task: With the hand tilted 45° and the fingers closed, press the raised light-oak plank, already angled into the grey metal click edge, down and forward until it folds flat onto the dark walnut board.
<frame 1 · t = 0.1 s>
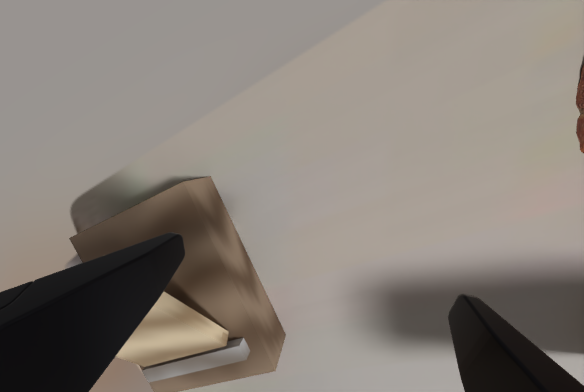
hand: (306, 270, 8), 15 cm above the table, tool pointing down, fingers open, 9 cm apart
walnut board: (195, 277, 27), on the table
oak plank: (129, 323, 19), point 9 cm above the table, hinge at 30.0°
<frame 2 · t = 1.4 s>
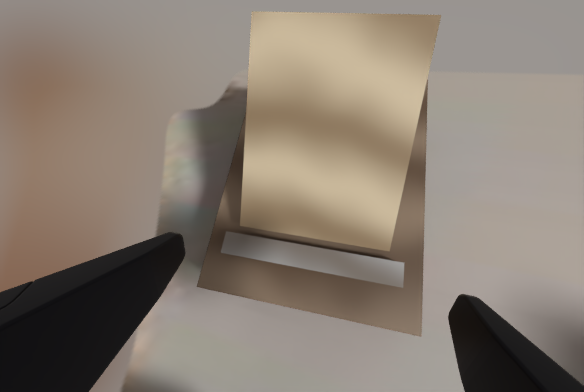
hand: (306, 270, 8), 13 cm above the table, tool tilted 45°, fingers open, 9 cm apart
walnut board: (321, 192, 22), on the table
oak plank: (324, 137, 15), point 9 cm above the table, hinge at 30.0°
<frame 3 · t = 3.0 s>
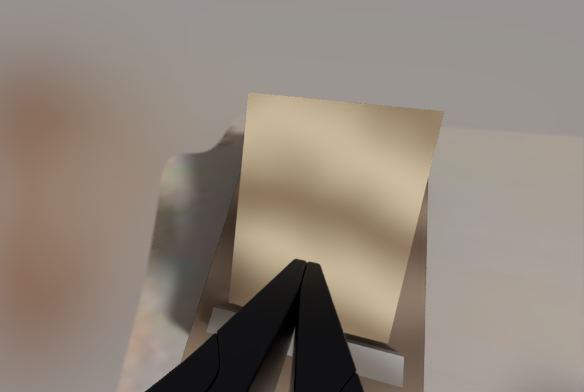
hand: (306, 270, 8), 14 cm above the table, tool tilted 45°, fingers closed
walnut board: (317, 251, 22), on the table
oak plank: (320, 218, 14), point 9 cm above the table, hinge at 30.0°
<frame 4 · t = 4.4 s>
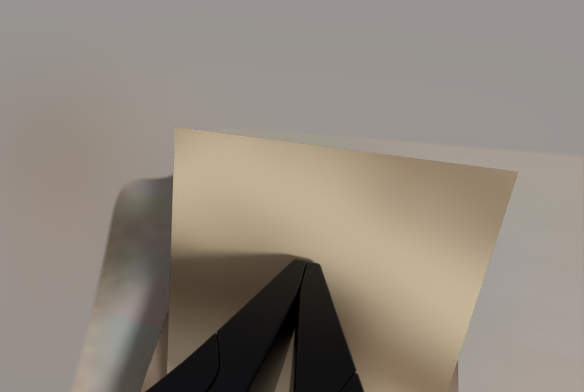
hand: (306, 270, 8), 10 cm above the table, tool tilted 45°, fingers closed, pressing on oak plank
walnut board: (305, 315, 16), on the table
oak plank: (299, 323, 9), point 9 cm above the table, hinge at 29.9°, touching gripper
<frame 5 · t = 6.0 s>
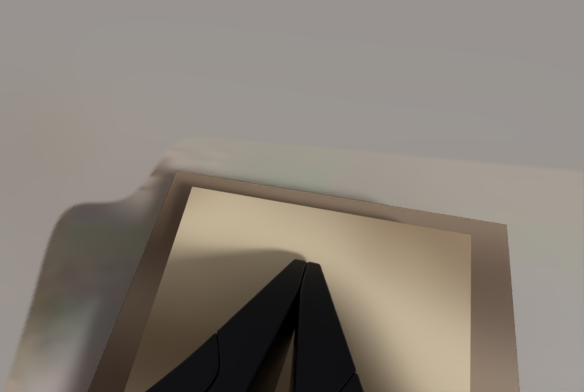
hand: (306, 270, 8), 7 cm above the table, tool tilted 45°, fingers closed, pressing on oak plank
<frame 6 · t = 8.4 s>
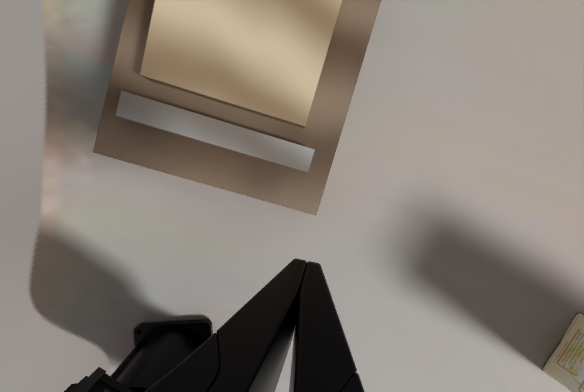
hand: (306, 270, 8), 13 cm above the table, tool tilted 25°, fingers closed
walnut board: (255, 69, 19), on the table
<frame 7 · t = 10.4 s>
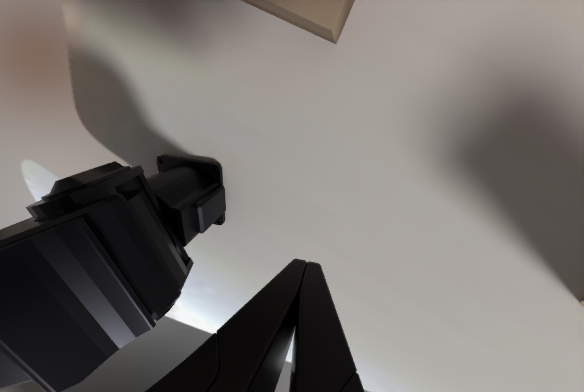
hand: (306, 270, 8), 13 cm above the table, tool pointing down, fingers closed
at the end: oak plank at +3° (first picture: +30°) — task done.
